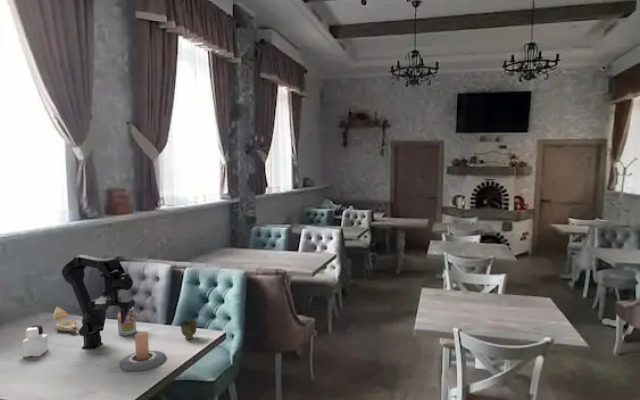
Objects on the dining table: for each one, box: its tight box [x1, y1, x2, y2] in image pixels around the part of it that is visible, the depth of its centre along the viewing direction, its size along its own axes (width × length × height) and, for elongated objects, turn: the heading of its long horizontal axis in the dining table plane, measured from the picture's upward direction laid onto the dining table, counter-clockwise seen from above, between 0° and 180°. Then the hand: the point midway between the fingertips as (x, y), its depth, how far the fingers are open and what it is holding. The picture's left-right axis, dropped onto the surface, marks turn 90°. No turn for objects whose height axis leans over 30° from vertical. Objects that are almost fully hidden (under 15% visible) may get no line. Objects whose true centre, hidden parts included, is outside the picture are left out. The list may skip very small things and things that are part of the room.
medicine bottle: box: [21, 324, 49, 358], centre depth 194 cm, size 7×7×12 cm
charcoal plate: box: [118, 350, 167, 373], centre depth 184 cm, size 18×18×1 cm
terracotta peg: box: [134, 331, 150, 361], centre depth 183 cm, size 5×5×11 cm
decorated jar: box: [117, 306, 139, 337], centre depth 216 cm, size 9×8×12 cm
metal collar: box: [129, 352, 156, 366], centre depth 184 cm, size 11×11×1 cm
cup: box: [179, 319, 198, 341], centre depth 207 cm, size 8×7×8 cm
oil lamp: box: [52, 306, 80, 333], centre depth 222 cm, size 9×21×10 cm, turn 51°
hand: (113, 322), depth 193 cm, fingers open, 9 cm apart
